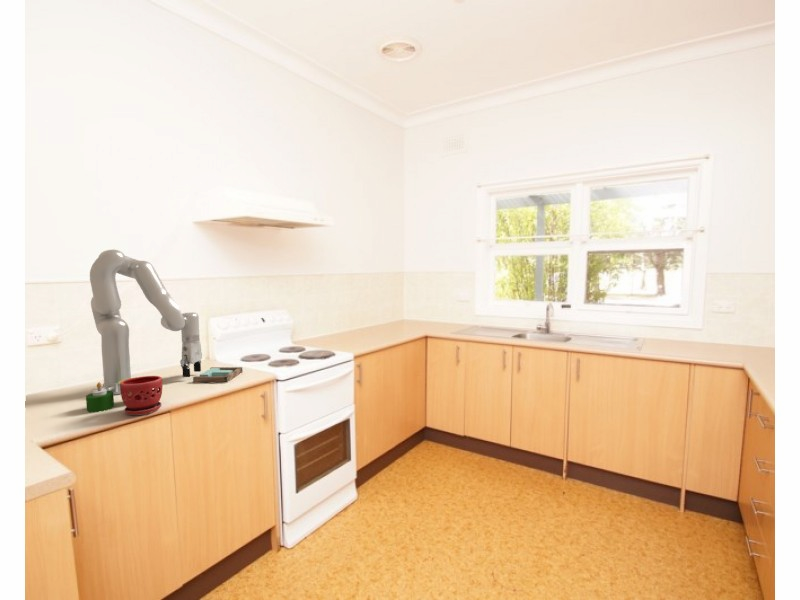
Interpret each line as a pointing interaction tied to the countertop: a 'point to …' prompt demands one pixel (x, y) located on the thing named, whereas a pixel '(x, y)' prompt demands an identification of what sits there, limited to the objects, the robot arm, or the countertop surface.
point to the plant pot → (141, 394)
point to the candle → (99, 400)
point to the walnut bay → (219, 378)
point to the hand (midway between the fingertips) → (192, 374)
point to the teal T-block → (216, 372)
